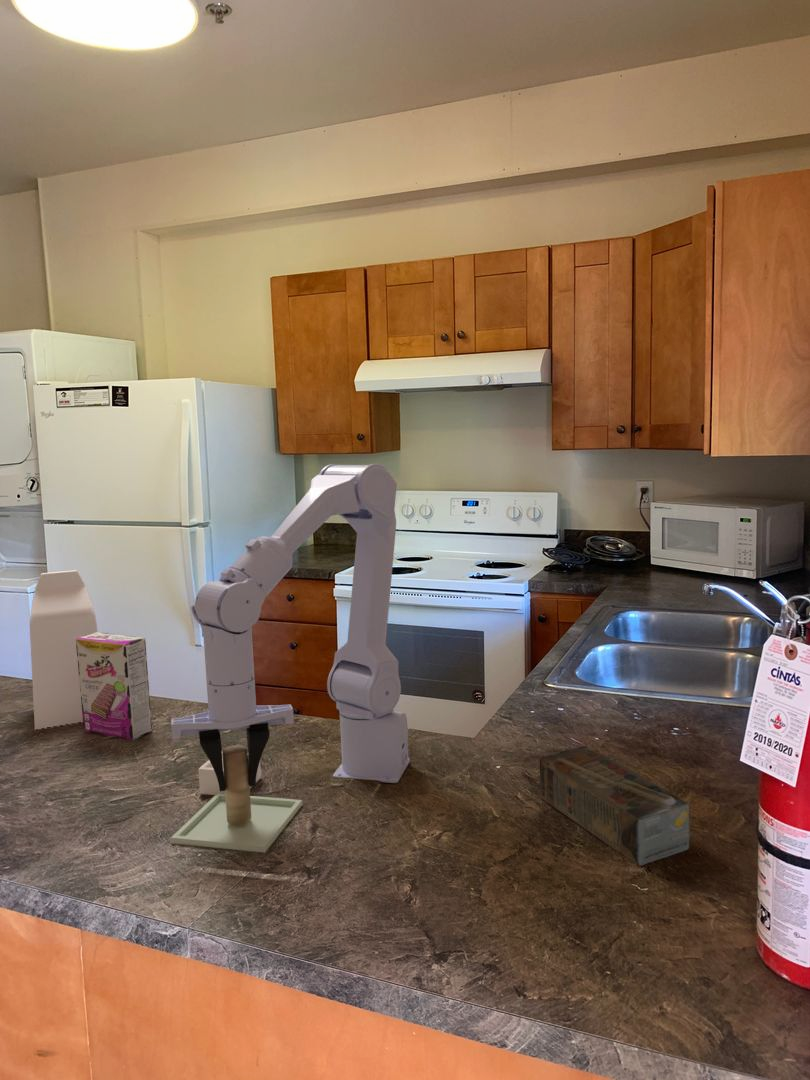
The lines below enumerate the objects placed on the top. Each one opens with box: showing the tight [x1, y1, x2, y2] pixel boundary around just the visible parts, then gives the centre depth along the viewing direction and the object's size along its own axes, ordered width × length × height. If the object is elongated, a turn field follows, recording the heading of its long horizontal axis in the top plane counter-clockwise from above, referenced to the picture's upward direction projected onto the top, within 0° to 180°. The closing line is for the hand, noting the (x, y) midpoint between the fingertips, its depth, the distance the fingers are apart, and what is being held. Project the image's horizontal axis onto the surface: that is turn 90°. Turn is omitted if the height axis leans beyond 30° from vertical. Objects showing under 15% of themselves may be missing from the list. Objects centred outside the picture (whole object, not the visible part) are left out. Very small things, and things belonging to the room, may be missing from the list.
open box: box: [197, 750, 262, 796], centre depth 109 cm, size 6×6×4 cm
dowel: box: [222, 744, 252, 825], centre depth 98 cm, size 3×3×9 cm
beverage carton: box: [539, 745, 691, 866], centre depth 96 cm, size 8×19×7 cm, turn 25°
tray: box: [170, 793, 303, 854], centre depth 98 cm, size 12×12×1 cm
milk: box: [29, 569, 98, 731], centre depth 141 cm, size 12×12×26 cm
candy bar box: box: [76, 632, 153, 741], centre depth 132 cm, size 11×5×16 cm, turn 65°
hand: (237, 785), depth 98 cm, fingers closed on dowel, 3 cm apart
